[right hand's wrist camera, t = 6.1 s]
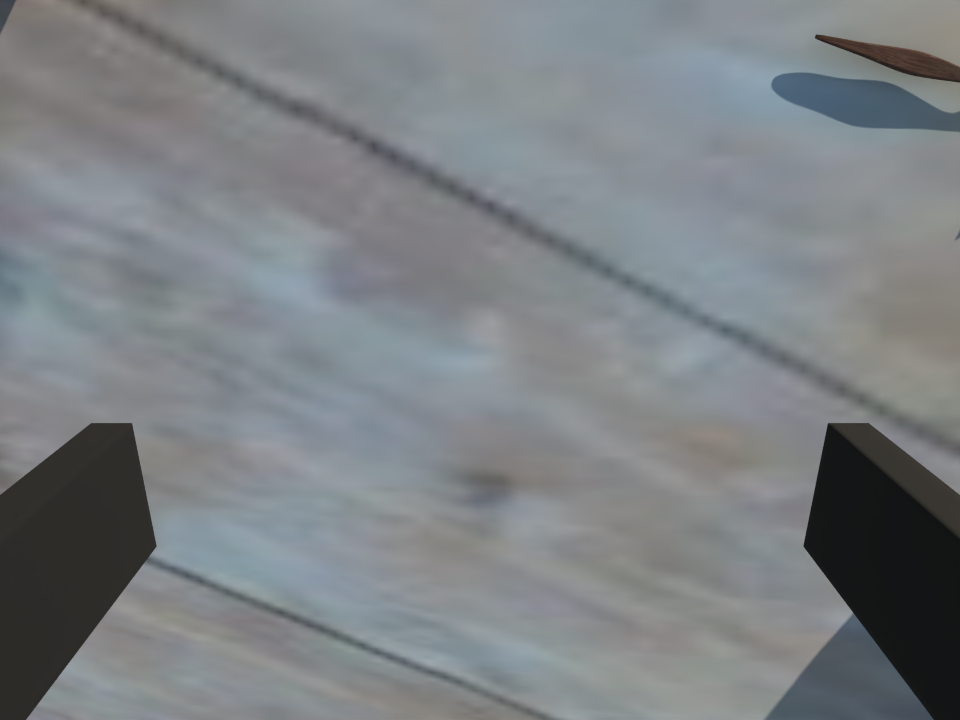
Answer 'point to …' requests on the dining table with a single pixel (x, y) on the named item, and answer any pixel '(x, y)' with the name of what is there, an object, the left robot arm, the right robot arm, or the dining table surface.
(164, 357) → the dining table surface
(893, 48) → the fork
